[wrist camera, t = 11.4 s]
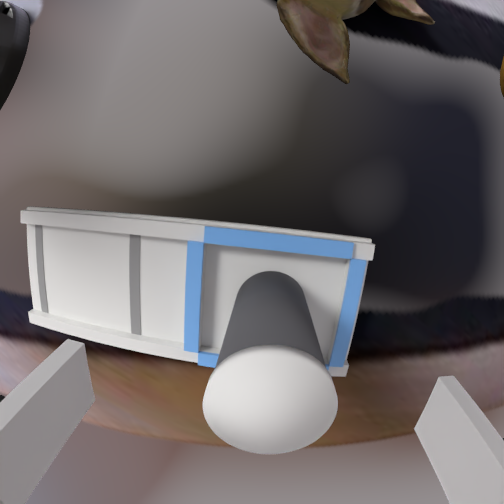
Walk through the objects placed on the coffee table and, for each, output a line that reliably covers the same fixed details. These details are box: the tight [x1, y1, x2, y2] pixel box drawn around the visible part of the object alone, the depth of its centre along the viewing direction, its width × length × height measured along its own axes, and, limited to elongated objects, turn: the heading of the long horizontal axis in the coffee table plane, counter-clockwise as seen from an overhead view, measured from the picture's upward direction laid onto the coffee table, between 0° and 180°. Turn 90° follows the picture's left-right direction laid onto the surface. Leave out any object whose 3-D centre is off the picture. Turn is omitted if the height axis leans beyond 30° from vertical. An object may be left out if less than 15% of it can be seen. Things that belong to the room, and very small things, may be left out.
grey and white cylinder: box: [203, 271, 338, 454], centre depth 15 cm, size 5×5×11 cm
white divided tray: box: [21, 206, 375, 377], centre depth 21 cm, size 10×26×2 cm, turn 84°
